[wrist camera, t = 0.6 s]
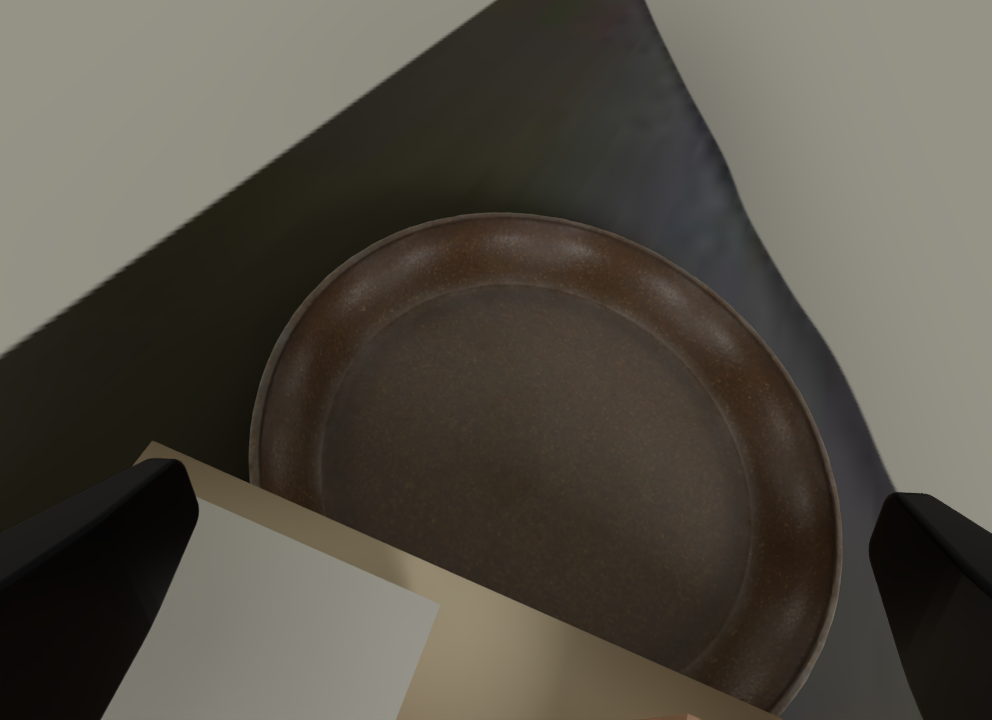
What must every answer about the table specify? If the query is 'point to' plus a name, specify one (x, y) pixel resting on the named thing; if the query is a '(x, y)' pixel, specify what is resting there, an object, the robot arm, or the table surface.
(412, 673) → the light grey block
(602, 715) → the beige elongated piece
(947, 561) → the robot arm
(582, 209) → the table surface
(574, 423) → the plant saucer
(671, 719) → the tan clay block
